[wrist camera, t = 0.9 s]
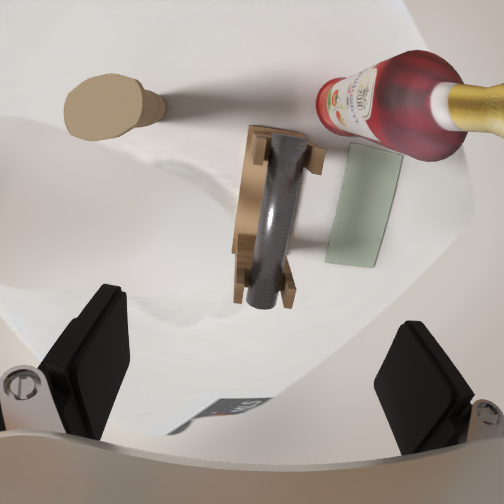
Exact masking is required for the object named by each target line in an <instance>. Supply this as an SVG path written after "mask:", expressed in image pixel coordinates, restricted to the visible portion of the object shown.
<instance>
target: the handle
mask: <svg viewBox="0 0 504 504" xmlns="http://www.w3.org/2000/svg"><path fill="white" fill-rule="evenodd" d="M165 105H166V101H165V100H164V99H162V98H161V97H160V96H159V95H157V94H156V93H154V92H152V91H148V90H144V88H143V86H142V84H141V83H140V82H139V81H138V80H136V79H133V78H129V77H126V76H122V75H119V74H104V75H100V76H96V77H92V78H89V79H87V80H85V81H84V82H82V83H81V84H79V85H78V86H77V87H76V88H74V89H73V90H72V91H71V92H70V93H69V94H68V96H67V98H66V101H65V105H64V120H65V125H66V128H67V130H68V131H69V133H70V134H71V135H72V136H75V137H77V138H80V139H83V140H88V141H99V140H105V139H111V138H116V137H120V136H121V135H123V134H125V133H127V132H128V131H130V130H131V129H133V128H134V127H144V126H148V125H151V124H154V123H156V122H157V121H159V120H160V119H161V118H162V116H165V115H166V113H167V111H166V109H165Z"/></svg>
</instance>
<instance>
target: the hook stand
mask: <svg viewBox="0 0 504 504" xmlns="http://www.w3.org/2000/svg"><path fill="white" fill-rule="evenodd" d="M272 133H279V134H285V135H291V136H297V137H302V138H303V135H304V134H301V133H295V132H289V131H284V130H277V129H271V128H264V127H258V126H250V125H249V130H248V137H247V143H246V150H245V157H244V164H243V171H242V179H241V186H240V193H239V200H238V208H237V215H236V223H235V230H234V238H233V246H232V253H235V278H234V303H239V304H242V298H243V291H244V287H248V285H249V278H250V272H251V266H252V260H253V253H254V247H255V241H256V234H257V228H258V222H259V215H260V209H261V203H262V197H263V190H264V184H265V178H266V171H267V165H268V159H269V152H270V146H271V140H272ZM325 152H326V150H325V149H323V148H320V147H318V146H316V145H313V144H311V143H308V142H307V147H306V153H305V159H304V164H303V167H305V168H306V169H307V170H309V171H310V172H311V173H312V174H317V175H321V174H322V168H323V163H324V158H325ZM279 291H281V296H282V300H283V305H284V308H289V309H292V305H293V301H294V297H295V293H296V287H295V283H294V280H293V277H292V273H291V270H290V266H289V263H288V260H287V256H286V258H285V263H284V268H283V273H282V277H281V282H280V287H279Z"/></svg>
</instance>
